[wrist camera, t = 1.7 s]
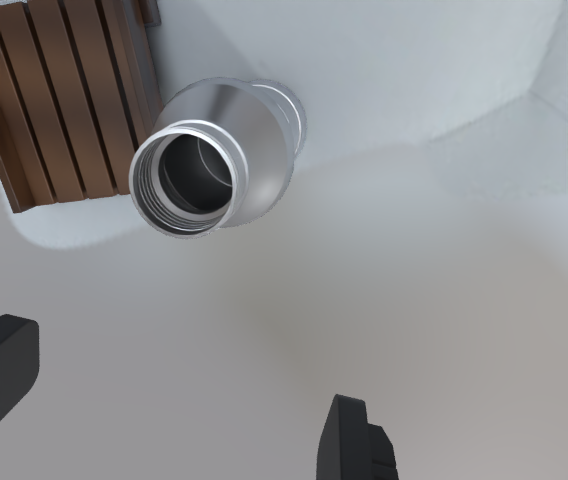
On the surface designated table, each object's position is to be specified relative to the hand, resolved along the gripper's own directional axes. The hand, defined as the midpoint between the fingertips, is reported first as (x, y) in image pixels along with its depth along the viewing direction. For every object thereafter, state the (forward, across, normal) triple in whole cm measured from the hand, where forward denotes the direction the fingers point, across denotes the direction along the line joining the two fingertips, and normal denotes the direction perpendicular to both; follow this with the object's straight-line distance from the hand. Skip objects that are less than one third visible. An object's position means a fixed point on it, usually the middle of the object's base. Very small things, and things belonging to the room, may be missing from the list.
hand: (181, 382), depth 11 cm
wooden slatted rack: (+24, +16, -2) cm, 29 cm away
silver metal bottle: (+24, +2, -4) cm, 25 cm away
